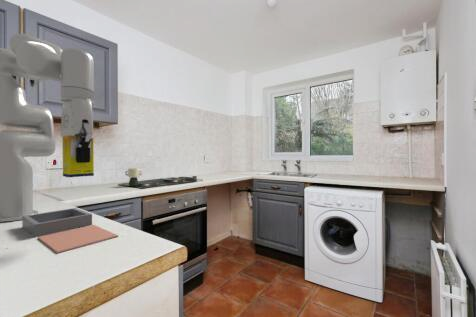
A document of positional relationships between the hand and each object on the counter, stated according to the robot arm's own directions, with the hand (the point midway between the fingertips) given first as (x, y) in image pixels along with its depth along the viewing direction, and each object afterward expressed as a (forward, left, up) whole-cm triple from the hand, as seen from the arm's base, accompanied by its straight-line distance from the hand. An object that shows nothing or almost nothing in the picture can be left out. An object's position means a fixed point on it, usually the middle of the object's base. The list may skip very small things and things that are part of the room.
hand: (78, 161), depth 64 cm
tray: (-17, 0, -21) cm, 27 cm away
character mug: (-86, +64, -21) cm, 109 cm away
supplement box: (0, 0, -4) cm, 4 cm away
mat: (0, 0, -21) cm, 21 cm away
